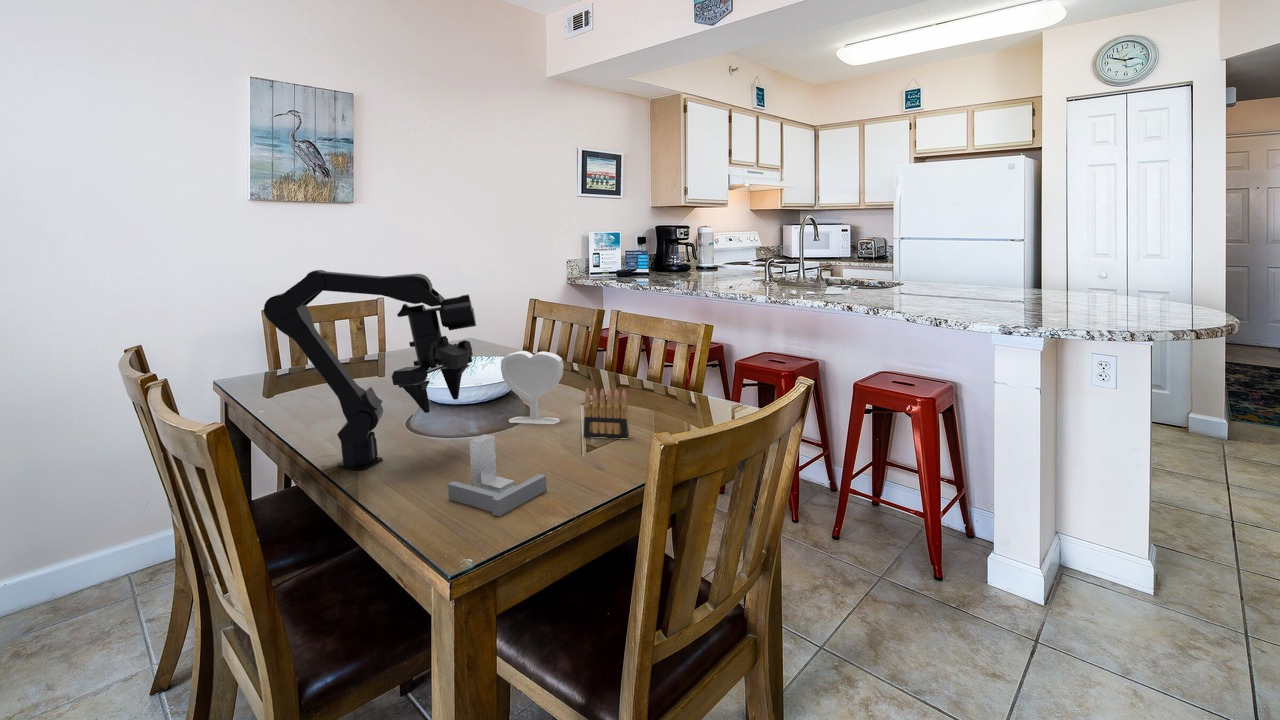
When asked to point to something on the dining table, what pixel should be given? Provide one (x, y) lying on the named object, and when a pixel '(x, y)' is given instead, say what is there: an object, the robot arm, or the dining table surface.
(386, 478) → the dining table surface
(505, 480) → the white l-shaped block
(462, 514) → the dining table surface
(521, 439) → the dining table surface
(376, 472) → the dining table surface
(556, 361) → the heart sculpture
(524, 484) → the corner bracket
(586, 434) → the ammunition clip
